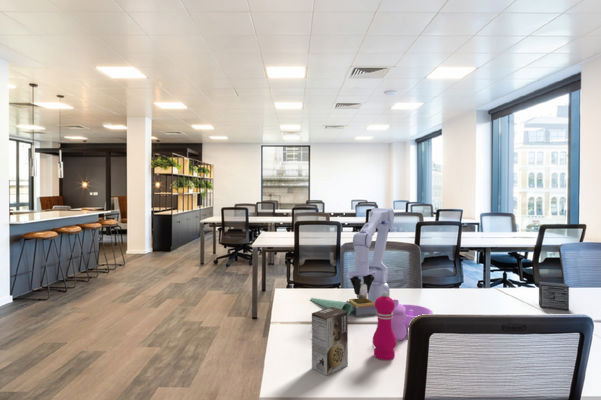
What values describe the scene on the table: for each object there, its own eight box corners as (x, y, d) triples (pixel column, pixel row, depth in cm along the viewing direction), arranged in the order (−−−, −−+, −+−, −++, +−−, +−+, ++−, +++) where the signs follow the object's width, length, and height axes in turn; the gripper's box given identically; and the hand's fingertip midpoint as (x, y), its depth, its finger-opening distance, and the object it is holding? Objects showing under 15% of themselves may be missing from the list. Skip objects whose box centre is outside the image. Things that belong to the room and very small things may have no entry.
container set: (400, 317, 154) (400, 285, 154) (438, 326, 145) (438, 291, 145) (370, 335, 135) (370, 298, 135) (412, 347, 125) (412, 307, 125)
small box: (566, 306, 169) (566, 283, 169) (569, 311, 163) (569, 286, 163) (538, 303, 174) (538, 281, 174) (540, 307, 168) (540, 284, 168)
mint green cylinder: (315, 288, 181) (351, 301, 158) (315, 299, 181) (351, 315, 158) (306, 289, 178) (341, 303, 155) (306, 301, 178) (341, 317, 155)
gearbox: (369, 307, 168) (369, 296, 168) (381, 314, 158) (381, 302, 158) (345, 309, 164) (346, 298, 164) (356, 316, 155) (356, 305, 155)
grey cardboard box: (332, 358, 116) (332, 306, 116) (348, 365, 111) (348, 310, 111) (310, 368, 110) (310, 312, 109) (327, 376, 105) (327, 317, 105)
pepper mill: (369, 351, 121) (370, 288, 121) (391, 350, 122) (392, 288, 122) (376, 361, 114) (376, 294, 114) (399, 360, 115) (400, 294, 114)
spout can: (364, 295, 164) (364, 278, 163) (368, 298, 159) (369, 280, 159) (355, 296, 162) (355, 278, 162) (359, 299, 158) (359, 280, 158)
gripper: (369, 258, 168) (369, 289, 168) (342, 261, 161) (342, 293, 161) (380, 261, 161) (380, 293, 162) (352, 264, 155) (351, 297, 155)
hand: (361, 293), depth 161 cm, fingers closed on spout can, 4 cm apart
